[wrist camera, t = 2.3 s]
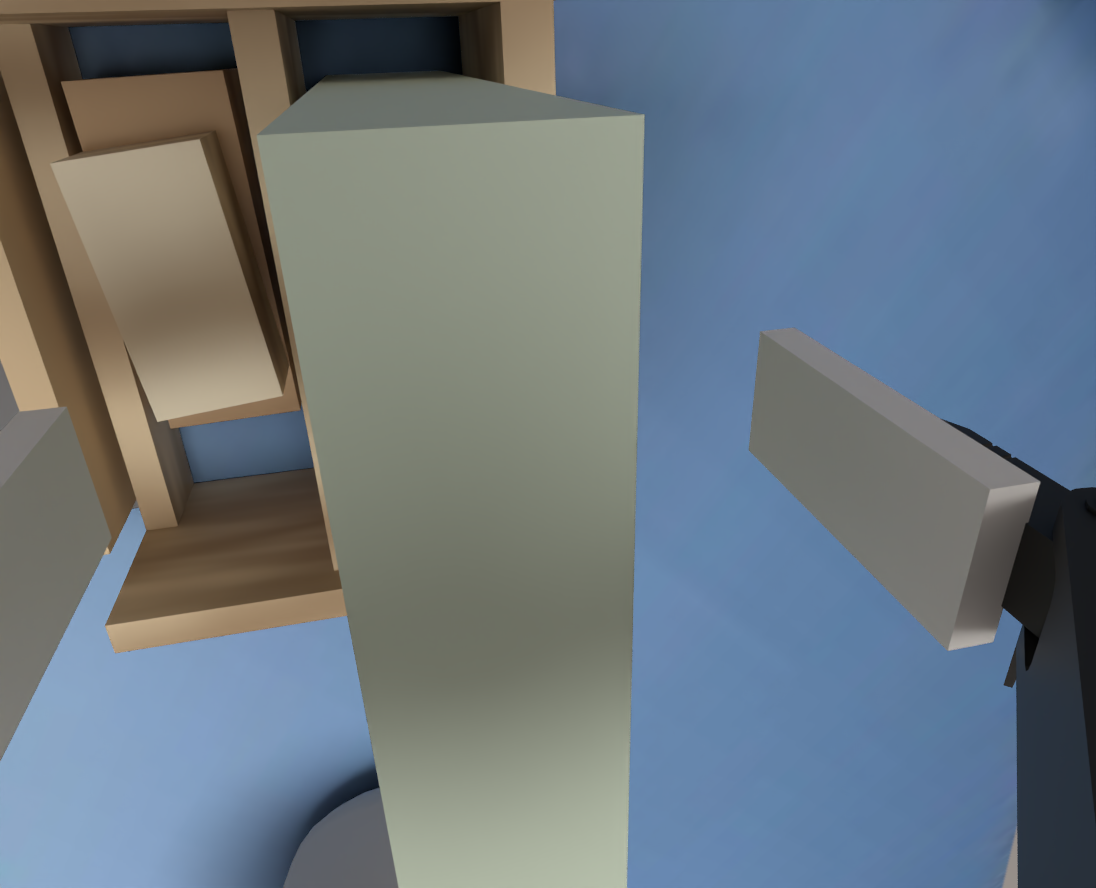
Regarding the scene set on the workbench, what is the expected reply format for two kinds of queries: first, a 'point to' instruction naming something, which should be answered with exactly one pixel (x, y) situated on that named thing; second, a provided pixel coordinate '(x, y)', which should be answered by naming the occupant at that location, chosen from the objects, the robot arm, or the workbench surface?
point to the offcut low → (217, 105)
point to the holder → (49, 330)
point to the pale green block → (476, 452)
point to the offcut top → (177, 271)
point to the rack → (157, 450)
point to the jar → (347, 849)
